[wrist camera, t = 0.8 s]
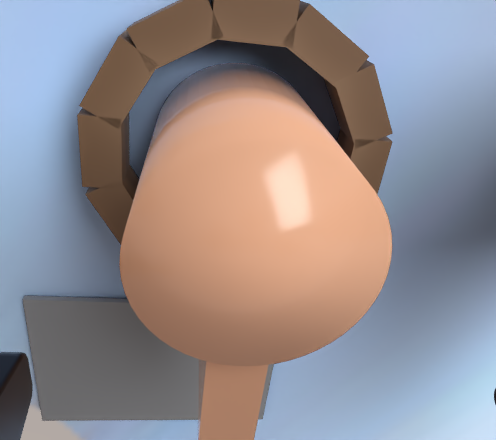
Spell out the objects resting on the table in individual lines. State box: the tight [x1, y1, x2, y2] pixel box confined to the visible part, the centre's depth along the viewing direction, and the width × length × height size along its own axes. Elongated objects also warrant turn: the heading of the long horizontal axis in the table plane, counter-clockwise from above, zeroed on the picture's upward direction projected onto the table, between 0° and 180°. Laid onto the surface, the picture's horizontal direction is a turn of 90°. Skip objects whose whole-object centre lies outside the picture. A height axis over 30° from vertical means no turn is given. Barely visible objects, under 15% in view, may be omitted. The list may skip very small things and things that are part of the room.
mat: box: [22, 296, 274, 421], centre depth 25 cm, size 13×9×1 cm
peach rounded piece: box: [119, 63, 392, 440], centre depth 16 cm, size 12×7×9 cm, turn 173°
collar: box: [77, 0, 392, 244], centre depth 18 cm, size 12×12×2 cm
